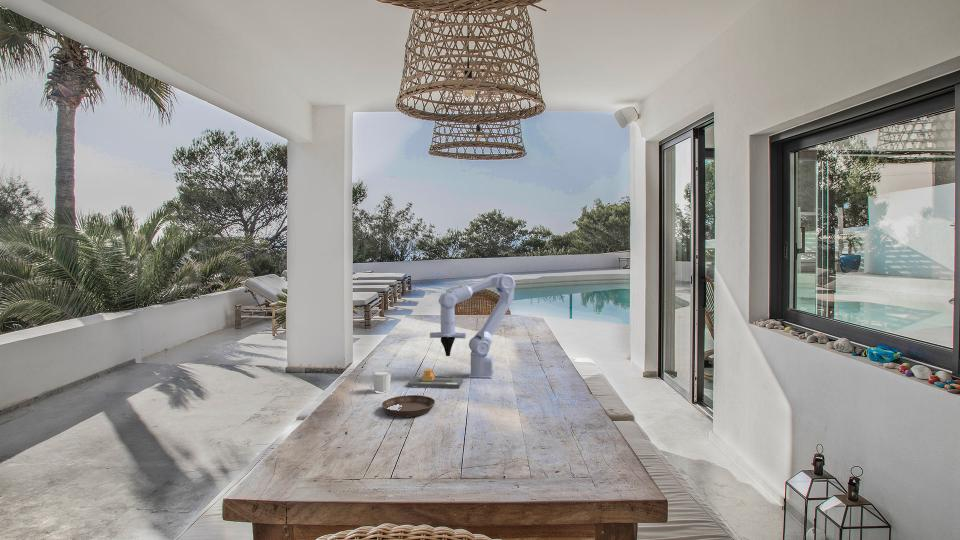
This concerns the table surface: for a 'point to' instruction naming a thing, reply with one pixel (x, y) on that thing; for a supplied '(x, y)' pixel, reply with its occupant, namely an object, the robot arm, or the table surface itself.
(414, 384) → the breaker panel
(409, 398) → the plant saucer
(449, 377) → the cord bundle
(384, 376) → the shot glass
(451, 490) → the table surface
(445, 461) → the table surface
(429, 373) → the breaker toggle
